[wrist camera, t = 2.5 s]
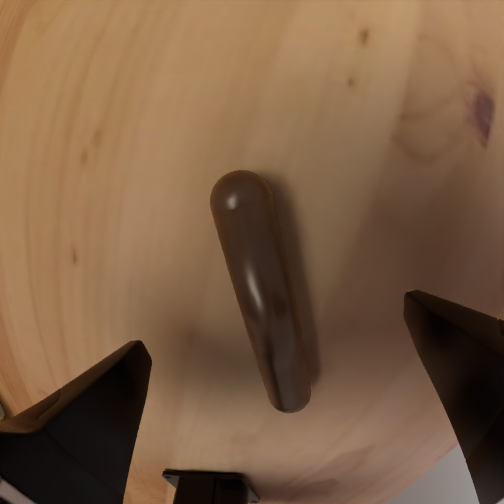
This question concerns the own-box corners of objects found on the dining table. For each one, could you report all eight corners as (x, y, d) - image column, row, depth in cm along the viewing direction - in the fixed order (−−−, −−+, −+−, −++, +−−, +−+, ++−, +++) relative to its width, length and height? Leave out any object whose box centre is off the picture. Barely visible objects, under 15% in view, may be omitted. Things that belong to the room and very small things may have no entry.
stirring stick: (311, 387, 12) (315, 417, 10) (272, 393, 12) (272, 423, 10) (265, 162, 9) (264, 165, 7) (209, 175, 9) (196, 182, 7)
